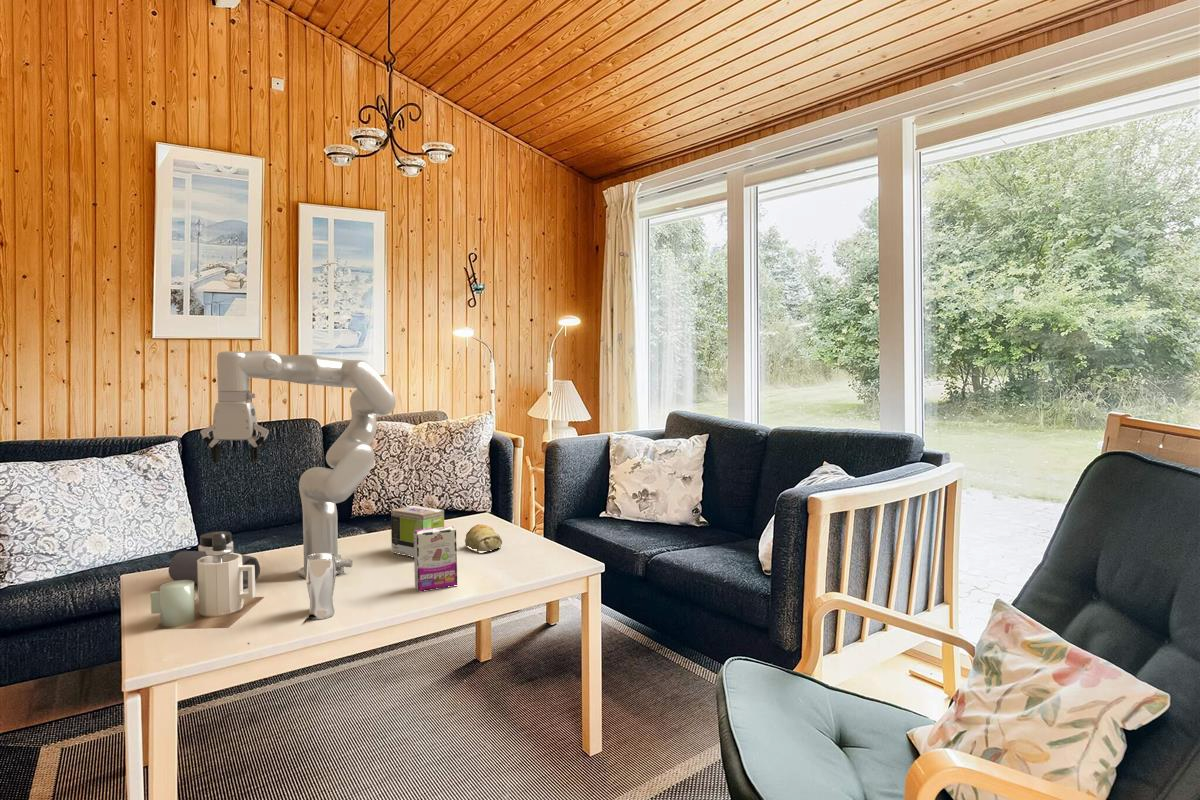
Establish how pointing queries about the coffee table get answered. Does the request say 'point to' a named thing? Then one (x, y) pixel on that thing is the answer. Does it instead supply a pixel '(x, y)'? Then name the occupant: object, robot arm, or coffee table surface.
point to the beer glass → (321, 584)
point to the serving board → (216, 621)
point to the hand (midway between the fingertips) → (235, 461)
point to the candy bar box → (435, 558)
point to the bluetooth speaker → (186, 566)
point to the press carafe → (223, 584)
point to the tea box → (412, 525)
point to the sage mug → (174, 603)
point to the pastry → (483, 538)
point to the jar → (207, 540)
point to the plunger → (219, 546)
